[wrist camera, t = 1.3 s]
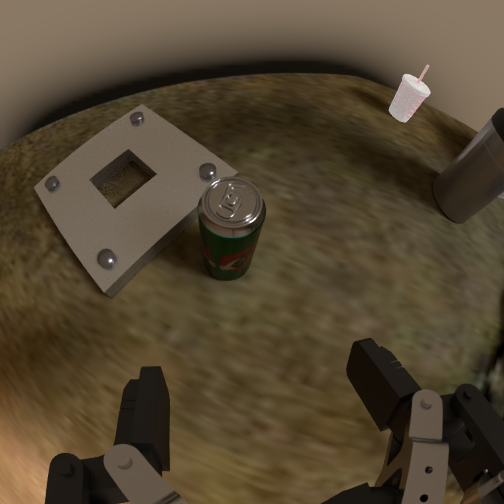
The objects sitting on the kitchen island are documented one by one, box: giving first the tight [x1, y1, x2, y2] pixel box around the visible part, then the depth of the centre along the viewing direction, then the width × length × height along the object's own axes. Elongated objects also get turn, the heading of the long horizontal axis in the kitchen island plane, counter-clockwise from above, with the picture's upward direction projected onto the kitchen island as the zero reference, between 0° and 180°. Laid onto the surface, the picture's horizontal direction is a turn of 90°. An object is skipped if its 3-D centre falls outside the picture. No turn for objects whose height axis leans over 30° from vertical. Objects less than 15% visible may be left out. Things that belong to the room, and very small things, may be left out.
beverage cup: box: [389, 65, 431, 122], centre depth 40 cm, size 6×6×14 cm
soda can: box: [197, 176, 266, 281], centre depth 25 cm, size 5×5×12 cm
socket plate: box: [34, 105, 238, 298], centre depth 31 cm, size 20×20×3 cm
